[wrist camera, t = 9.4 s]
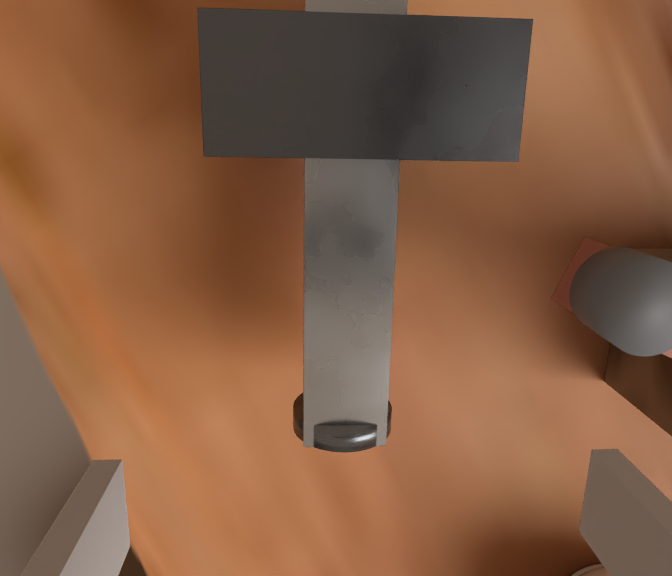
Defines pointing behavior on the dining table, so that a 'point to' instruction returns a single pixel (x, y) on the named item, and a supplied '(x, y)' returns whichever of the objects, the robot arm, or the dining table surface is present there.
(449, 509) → the dining table surface
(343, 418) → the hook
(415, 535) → the dining table surface
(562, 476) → the dining table surface
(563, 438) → the dining table surface
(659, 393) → the tan square block
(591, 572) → the lidded jar
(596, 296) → the ball ended rod
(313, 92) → the dark boxy piece
